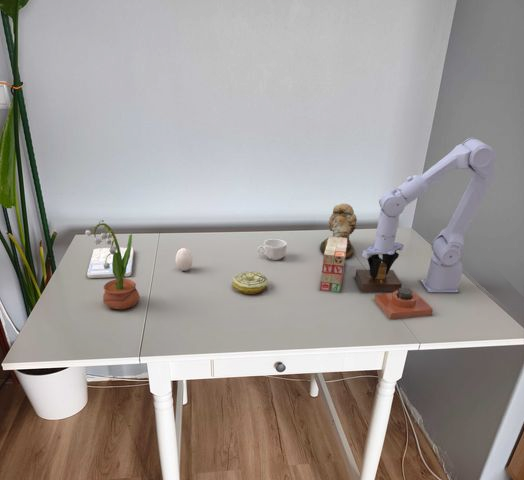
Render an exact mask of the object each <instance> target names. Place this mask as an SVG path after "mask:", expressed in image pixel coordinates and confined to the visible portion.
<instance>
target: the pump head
mask: <svg viewBox="0 0 524 480" xmlns="http://www.w3.org/2000/svg"><path fill="white" fill-rule="evenodd" d="M413 291H414V290H413V289H411V288H409V287H401V288H400V289H399V290H398V295H397V296H398V297H399V298H401V299H404V300H410V299H411V298H412V294H413Z"/></svg>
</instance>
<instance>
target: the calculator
mask: <svg viewBox="0 0 524 480" xmlns="http://www.w3.org/2000/svg"><path fill="white" fill-rule="evenodd" d="M110 248H111V247H99V248H98V247H97V248H94V249H93V251H92V254H91V257H90V262H89V265H88V269H87V273H86V276H87V278H88V279H104V278H105V279H106V278H116V277H115V275H114V274H113V270H112V262H113V254H110V251H109V249H110ZM119 248H120V252H121V257H122V259H123V256H124V254H125V252H126V249H127V246H125V247H121V246H120V247H119ZM134 250H135V249H134V248H133V247H132V246H131V251H130V258H129V261H128V264H127V268H126V273H125V275H124V278H127V277H130V276H132V270H133V261H134V254H135V253H134V252H135V251H134ZM115 252H117V249H116V251H115ZM109 254H110V255H109ZM108 255H109V256H108ZM107 256H108V257H107ZM106 258H107V260H106ZM105 261H106V262H107V263H109V264H110V267H111V268H109V269H104V266H103V265H104V263H105Z"/></svg>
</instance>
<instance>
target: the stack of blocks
mask: <svg viewBox="0 0 524 480" xmlns="http://www.w3.org/2000/svg"><path fill="white" fill-rule="evenodd" d="M327 238H328V240H327V246H326V249H325V252H324V254H323V260H322V269H321V280H320V285H319V291H324V292H333V293H340V292H341V288H342V284H343V277H344V271H345V264H346V260H345V256H346V249H347V238H340V237H333V236H328V237H327Z"/></svg>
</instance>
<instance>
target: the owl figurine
mask: <svg viewBox="0 0 524 480" xmlns="http://www.w3.org/2000/svg"><path fill="white" fill-rule="evenodd" d="M357 220H358V218H357V215H356V214H355V210H354V208H353V206H351V204H350V203H349V204H348V203H340V204H336V205H334V206H333V208H332V213H331V215H330V217H329V220H328V229H329V231H330V232H332V237H340V238H347V249H346V256H345V261H346V260H349V259H351V258H352V257H353V256H354V253H355V249H354V246H353V244H352V243H351V240H350V235H352V234H353V233H354V231H355V229H357ZM328 238H329V237H327V238H325V239H324V240H323V241H322V242H321V244H320V251H321V253H322V254H323V255H324V252H325V249H326V246H327V240H328Z"/></svg>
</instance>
